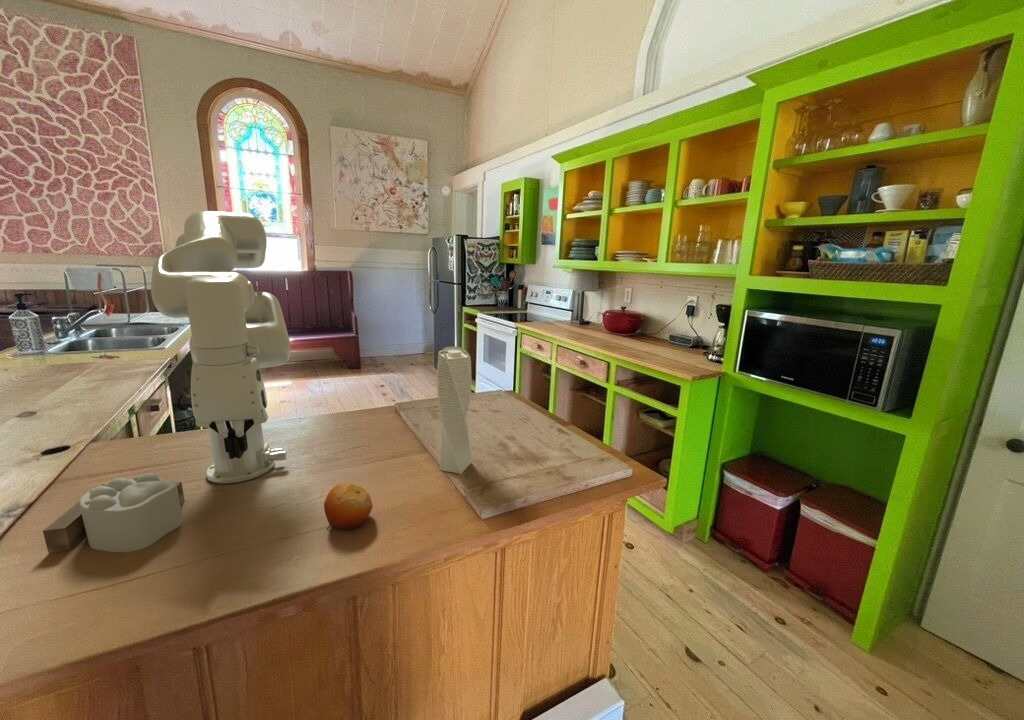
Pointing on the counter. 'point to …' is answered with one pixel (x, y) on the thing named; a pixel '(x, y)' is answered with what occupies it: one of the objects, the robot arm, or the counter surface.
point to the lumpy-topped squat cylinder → (130, 512)
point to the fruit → (347, 506)
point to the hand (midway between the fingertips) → (237, 454)
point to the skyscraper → (454, 407)
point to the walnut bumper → (74, 528)
